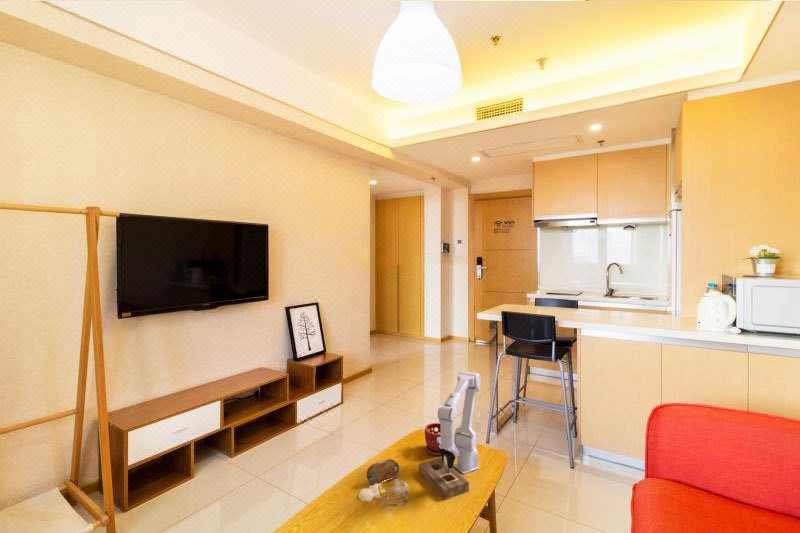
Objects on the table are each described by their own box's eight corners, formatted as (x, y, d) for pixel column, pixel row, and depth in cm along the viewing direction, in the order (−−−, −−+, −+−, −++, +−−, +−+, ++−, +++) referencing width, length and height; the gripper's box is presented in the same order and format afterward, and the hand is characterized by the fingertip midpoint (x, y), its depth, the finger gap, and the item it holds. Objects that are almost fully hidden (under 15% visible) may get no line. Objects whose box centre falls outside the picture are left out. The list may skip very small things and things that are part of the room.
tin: (368, 487, 160) (368, 468, 160) (365, 483, 163) (365, 464, 163) (399, 477, 167) (399, 459, 167) (396, 474, 170) (396, 456, 170)
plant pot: (432, 460, 181) (431, 435, 181) (420, 447, 193) (420, 424, 193) (455, 454, 186) (455, 430, 186) (443, 442, 198) (442, 420, 198)
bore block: (440, 465, 176) (440, 456, 176) (468, 491, 156) (468, 481, 156) (418, 472, 171) (418, 463, 171) (444, 499, 151) (444, 489, 151)
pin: (448, 468, 161) (448, 452, 161) (453, 472, 158) (452, 455, 158) (442, 470, 160) (442, 454, 160) (446, 474, 157) (446, 457, 157)
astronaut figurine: (389, 496, 155) (389, 489, 155) (362, 504, 150) (361, 497, 150) (381, 484, 163) (381, 478, 163) (355, 492, 158) (355, 485, 158)
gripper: (430, 429, 164) (431, 459, 164) (448, 443, 151) (449, 476, 151) (444, 425, 167) (444, 455, 167) (463, 439, 154) (463, 472, 154)
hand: (447, 465), depth 159 cm, fingers closed on pin, 3 cm apart
